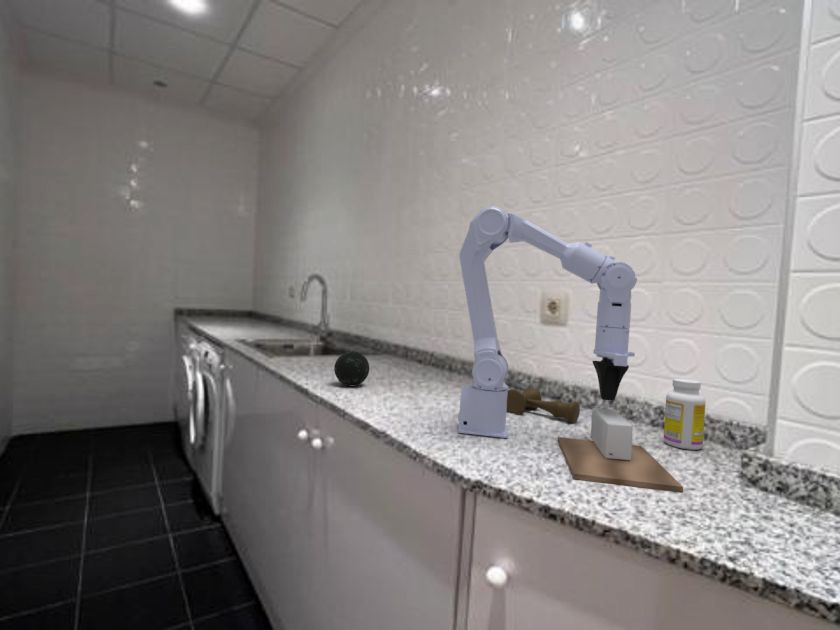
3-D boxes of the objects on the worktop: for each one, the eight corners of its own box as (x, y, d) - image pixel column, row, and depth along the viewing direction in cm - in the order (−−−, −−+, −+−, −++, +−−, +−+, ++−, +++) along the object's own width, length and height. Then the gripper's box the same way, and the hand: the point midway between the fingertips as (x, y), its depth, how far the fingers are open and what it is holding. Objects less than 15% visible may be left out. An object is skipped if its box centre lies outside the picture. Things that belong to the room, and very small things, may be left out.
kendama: (566, 429, 95) (489, 408, 108) (584, 423, 102) (509, 404, 116) (569, 402, 95) (491, 384, 108) (586, 398, 102) (511, 381, 115)
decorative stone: (327, 386, 123) (329, 351, 123) (342, 381, 133) (344, 348, 133) (360, 390, 121) (362, 354, 120) (373, 384, 130) (375, 351, 130)
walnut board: (573, 478, 66) (574, 473, 66) (557, 441, 84) (557, 436, 84) (682, 492, 63) (683, 486, 63) (640, 450, 82) (641, 445, 82)
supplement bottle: (699, 444, 88) (704, 380, 87) (705, 453, 82) (710, 385, 81) (661, 437, 91) (666, 376, 90) (664, 446, 85) (669, 380, 84)
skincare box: (613, 439, 84) (631, 462, 72) (590, 437, 85) (604, 459, 73) (615, 408, 84) (633, 425, 72) (591, 406, 85) (606, 423, 73)
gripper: (648, 330, 74) (643, 410, 74) (624, 327, 88) (619, 393, 89) (604, 328, 75) (599, 406, 76) (587, 324, 90) (583, 390, 90)
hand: (607, 399), depth 82 cm, fingers closed
